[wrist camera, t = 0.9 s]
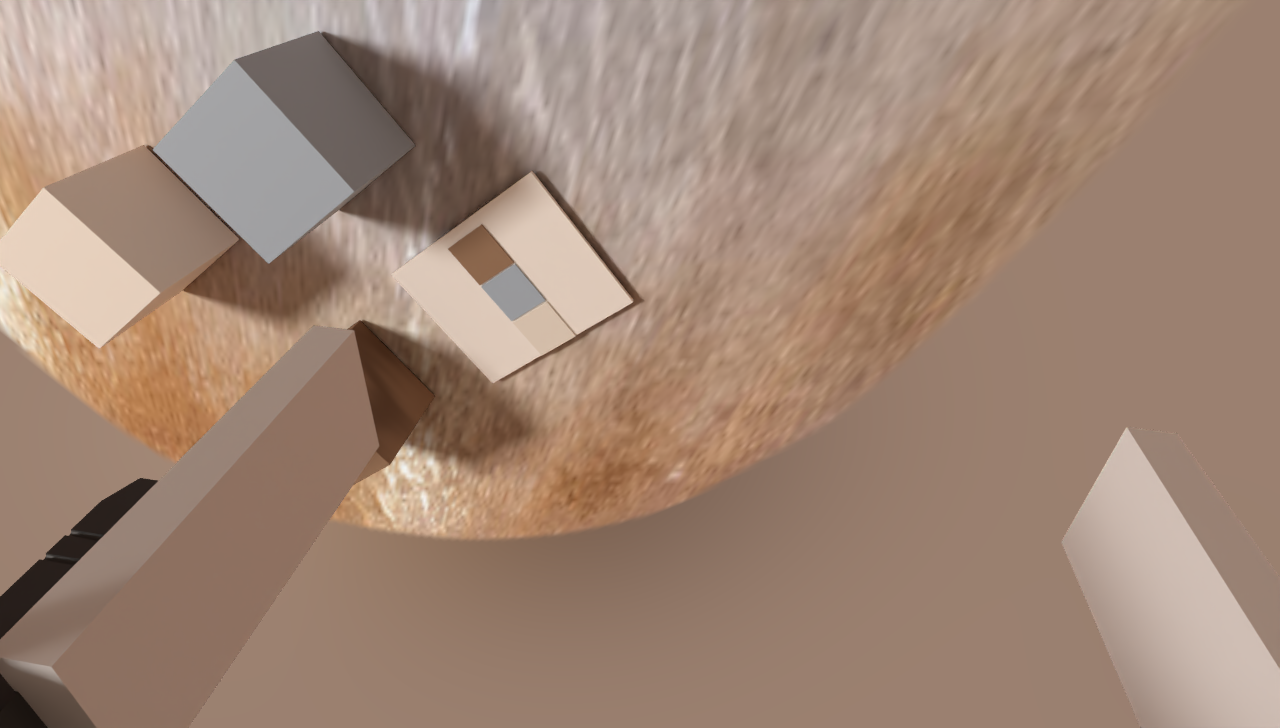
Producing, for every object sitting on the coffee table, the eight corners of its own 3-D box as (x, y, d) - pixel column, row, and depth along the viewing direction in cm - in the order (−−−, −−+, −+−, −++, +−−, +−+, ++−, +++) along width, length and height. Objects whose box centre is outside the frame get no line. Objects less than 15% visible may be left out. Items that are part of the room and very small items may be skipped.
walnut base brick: (296, 365, 42) (227, 435, 37) (360, 320, 40) (295, 388, 34) (370, 434, 45) (315, 509, 39) (434, 396, 42) (385, 471, 37)
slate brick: (242, 110, 34) (152, 149, 29) (318, 31, 31) (234, 60, 26) (337, 211, 36) (268, 264, 31) (415, 145, 34) (354, 191, 29)
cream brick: (88, 207, 38) (-13, 255, 33) (143, 145, 36) (43, 187, 31) (180, 291, 41) (99, 348, 36) (239, 239, 38) (160, 292, 33)
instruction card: (392, 273, 38) (390, 275, 37) (532, 170, 33) (530, 172, 33) (493, 381, 41) (491, 384, 40) (633, 300, 36) (632, 303, 36)
